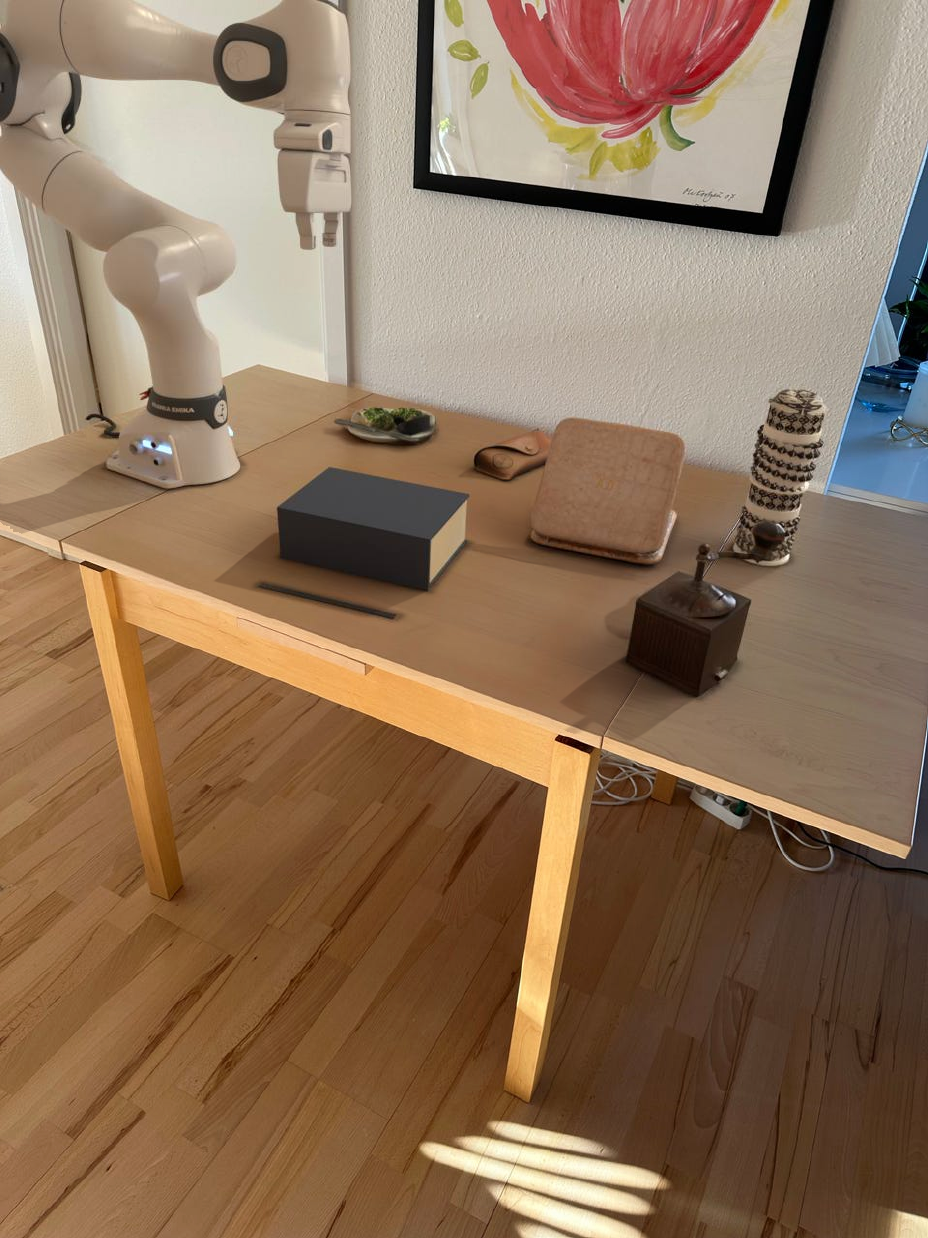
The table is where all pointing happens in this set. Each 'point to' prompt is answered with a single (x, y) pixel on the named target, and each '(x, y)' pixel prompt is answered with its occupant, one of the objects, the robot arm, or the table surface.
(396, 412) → the salad plate
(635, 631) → the manual coffee grinder
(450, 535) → the dictionary
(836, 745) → the table surface
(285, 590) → the dark grey thin rod
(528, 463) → the sunglasses case
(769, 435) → the white patterned cylinder
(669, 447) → the case
